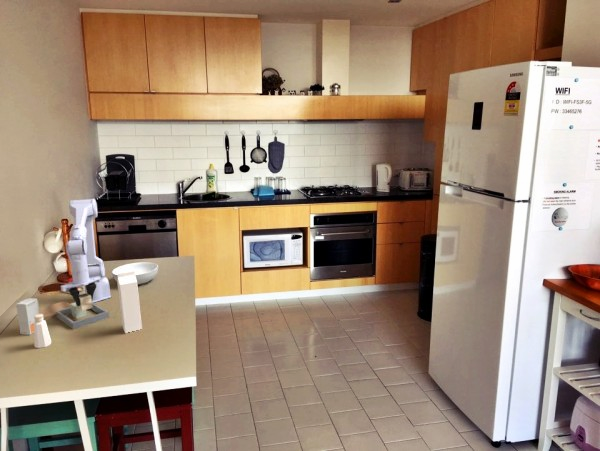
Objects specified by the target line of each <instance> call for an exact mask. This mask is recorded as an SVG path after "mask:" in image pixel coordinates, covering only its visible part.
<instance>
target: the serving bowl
mask: <svg viewBox="0 0 600 451" xmlns="http://www.w3.org/2000/svg"><path fill="white" fill-rule="evenodd" d="M158 270H159V265H158V264H157V263H154V262H150V261H148V262H146V261H143V262H133V263H125V264H124V265H123V264H122V265H119V266H118V267H115V268H114V269H113V270H112V271H111V273H112V274H111V275H112V277H113V279H114V280H115V281H116V282H117V279H118V274H120V273H126V272H132V271H134V272H135V276H136V280H137V286H138V285H142V284H146V283H148V282H150V281H151V280H153V279H154V278H155V277H156V276H157V274H158Z"/></svg>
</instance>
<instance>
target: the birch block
mask: <svg viewBox="0 0 600 451" xmlns="http://www.w3.org/2000/svg"><path fill="white" fill-rule="evenodd" d="M79 300H80V306H77V308H78V309H80V310H81V311H84V310H86V311H87V310H91V308H93V307H92V300H91V295H89V294H87V293H85V292H84V293H82V294H79Z"/></svg>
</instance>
